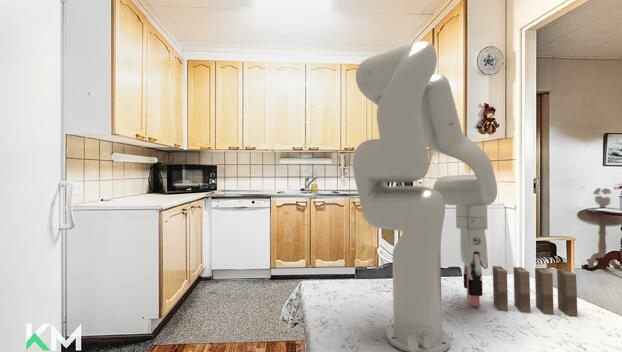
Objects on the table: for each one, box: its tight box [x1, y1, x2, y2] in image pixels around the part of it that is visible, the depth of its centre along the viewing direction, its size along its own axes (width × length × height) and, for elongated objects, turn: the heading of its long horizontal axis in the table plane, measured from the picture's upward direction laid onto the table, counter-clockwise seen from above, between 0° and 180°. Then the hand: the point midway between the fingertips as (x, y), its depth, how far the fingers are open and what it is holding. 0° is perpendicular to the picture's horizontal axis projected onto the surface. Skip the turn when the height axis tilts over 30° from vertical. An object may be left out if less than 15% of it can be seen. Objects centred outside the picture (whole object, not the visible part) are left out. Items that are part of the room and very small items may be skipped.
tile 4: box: [492, 265, 509, 312], centre depth 87 cm, size 5×2×10 cm, turn 166°
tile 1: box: [556, 268, 578, 317], centre depth 83 cm, size 5×2×10 cm, turn 166°
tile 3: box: [513, 266, 531, 314], centre depth 85 cm, size 5×2×10 cm, turn 166°
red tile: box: [466, 265, 481, 307], centre depth 88 cm, size 5×2×10 cm, turn 166°
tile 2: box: [534, 267, 554, 316], centre depth 84 cm, size 5×2×10 cm, turn 166°
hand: (472, 291), depth 88 cm, fingers closed on red tile, 5 cm apart
